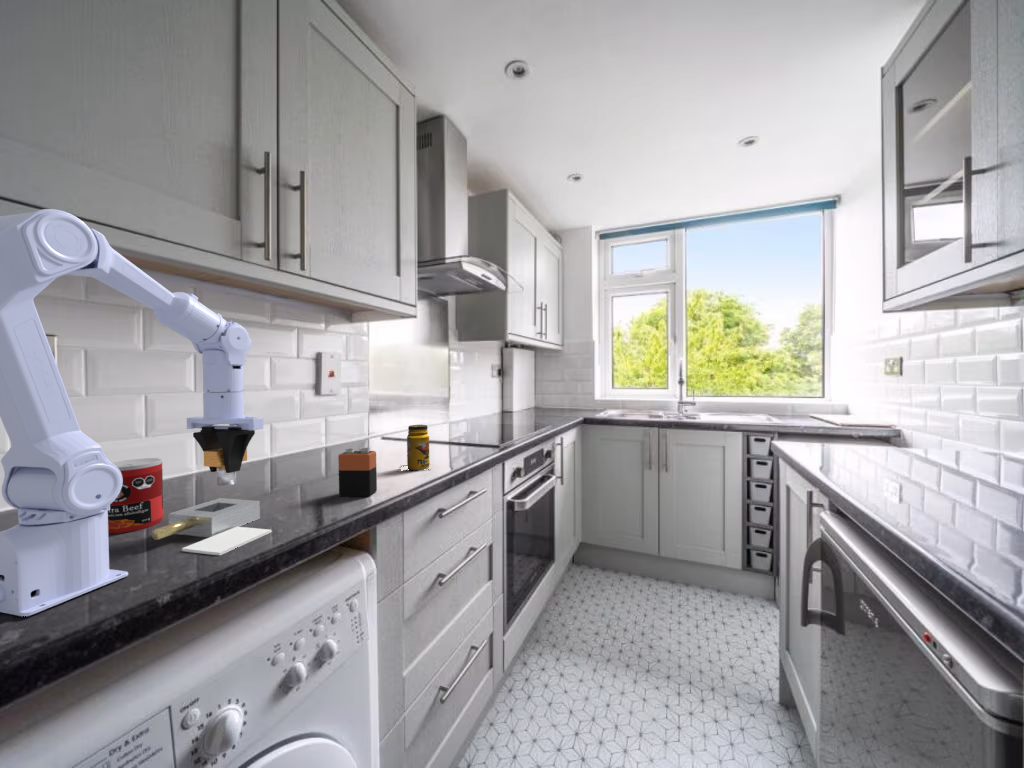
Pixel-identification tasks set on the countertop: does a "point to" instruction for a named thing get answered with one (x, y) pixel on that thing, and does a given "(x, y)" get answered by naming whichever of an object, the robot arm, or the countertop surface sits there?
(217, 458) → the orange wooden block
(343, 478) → the battery
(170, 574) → the countertop surface
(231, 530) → the mat
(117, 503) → the canned food
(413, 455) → the condiment
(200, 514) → the hollow block with rod
